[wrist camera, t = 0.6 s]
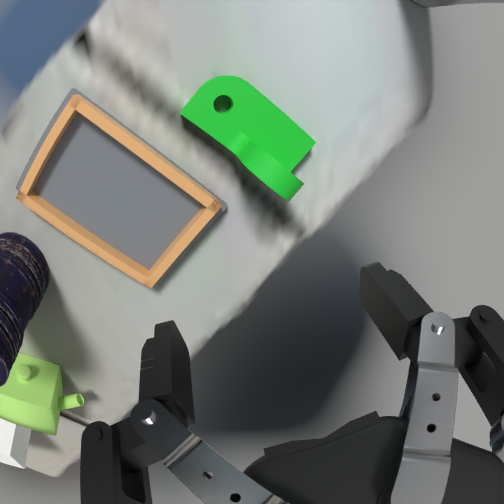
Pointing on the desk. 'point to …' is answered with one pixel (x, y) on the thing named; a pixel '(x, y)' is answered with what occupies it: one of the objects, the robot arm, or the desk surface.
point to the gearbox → (35, 395)
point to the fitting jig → (115, 192)
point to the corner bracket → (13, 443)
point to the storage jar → (18, 293)
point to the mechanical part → (252, 131)
